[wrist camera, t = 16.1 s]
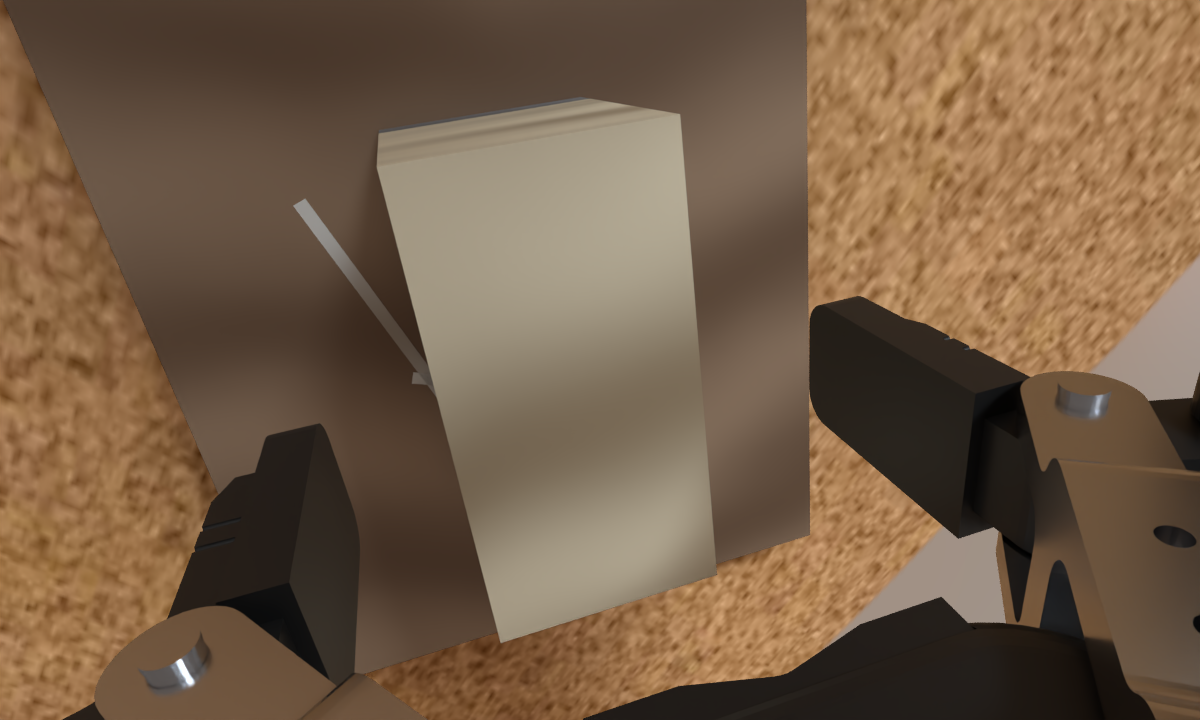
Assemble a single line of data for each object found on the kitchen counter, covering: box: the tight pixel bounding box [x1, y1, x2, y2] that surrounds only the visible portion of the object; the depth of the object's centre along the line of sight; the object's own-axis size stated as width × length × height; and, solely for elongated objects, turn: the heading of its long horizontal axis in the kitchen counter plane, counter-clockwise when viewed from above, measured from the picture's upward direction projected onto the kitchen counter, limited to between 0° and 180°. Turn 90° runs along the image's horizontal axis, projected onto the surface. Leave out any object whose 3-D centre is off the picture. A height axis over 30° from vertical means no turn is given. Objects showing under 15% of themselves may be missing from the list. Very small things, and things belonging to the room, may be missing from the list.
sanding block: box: [377, 97, 717, 643], centre depth 15 cm, size 9×4×6 cm, turn 8°
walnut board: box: [3, 0, 810, 674], centre depth 18 cm, size 20×16×2 cm
